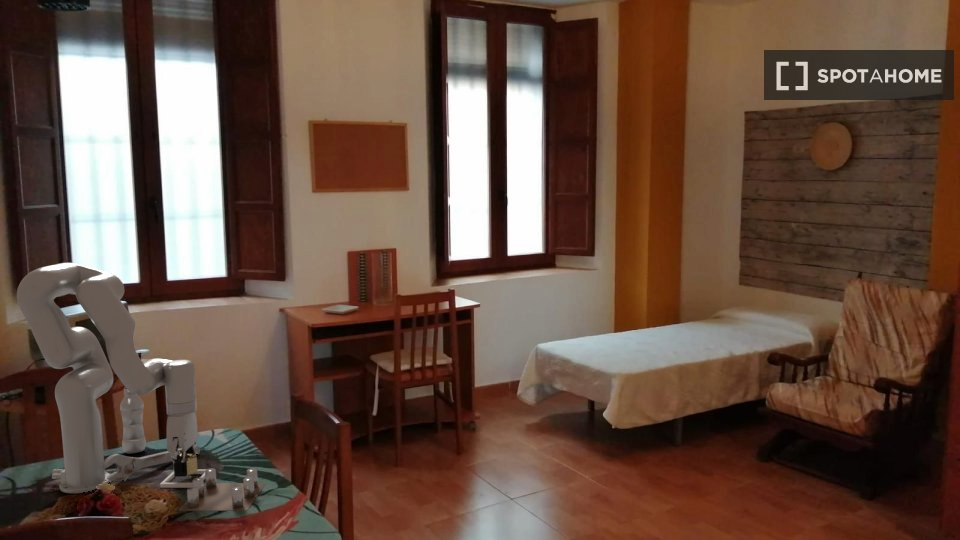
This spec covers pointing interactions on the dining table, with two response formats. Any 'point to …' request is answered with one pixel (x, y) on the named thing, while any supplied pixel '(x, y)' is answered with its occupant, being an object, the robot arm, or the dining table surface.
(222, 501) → the board
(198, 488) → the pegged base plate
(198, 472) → the white square frame
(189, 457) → the nut
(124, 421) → the plastic bottle
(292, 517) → the dining table surface
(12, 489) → the dining table surface
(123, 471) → the wrench
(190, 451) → the robot arm
